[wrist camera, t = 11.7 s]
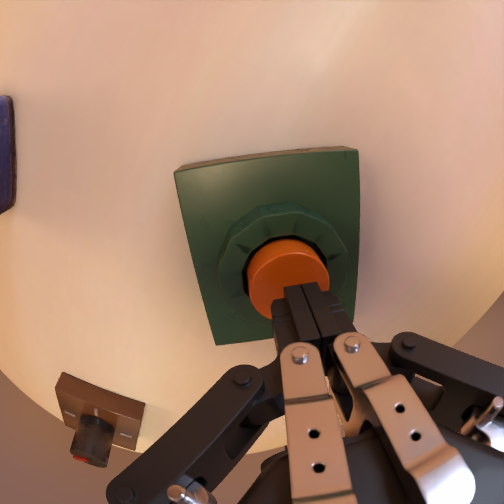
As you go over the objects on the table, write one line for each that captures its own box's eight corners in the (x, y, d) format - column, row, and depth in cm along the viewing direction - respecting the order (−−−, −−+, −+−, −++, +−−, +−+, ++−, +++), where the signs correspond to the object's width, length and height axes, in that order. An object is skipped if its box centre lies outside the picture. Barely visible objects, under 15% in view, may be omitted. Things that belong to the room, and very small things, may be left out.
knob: (100, 415, 22) (89, 455, 18) (121, 435, 24) (114, 471, 20) (73, 413, 23) (61, 449, 18) (94, 433, 24) (85, 466, 20)
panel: (137, 436, 29) (134, 452, 26) (70, 411, 26) (64, 426, 24) (145, 403, 25) (141, 422, 23) (62, 371, 23) (53, 388, 20)
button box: (343, 305, 21) (362, 339, 17) (216, 326, 21) (214, 364, 17) (343, 146, 16) (374, 153, 12) (180, 166, 16) (165, 177, 12)
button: (320, 296, 16) (329, 314, 14) (252, 308, 16) (254, 327, 14) (319, 233, 14) (330, 246, 13) (242, 244, 14) (243, 260, 12)
